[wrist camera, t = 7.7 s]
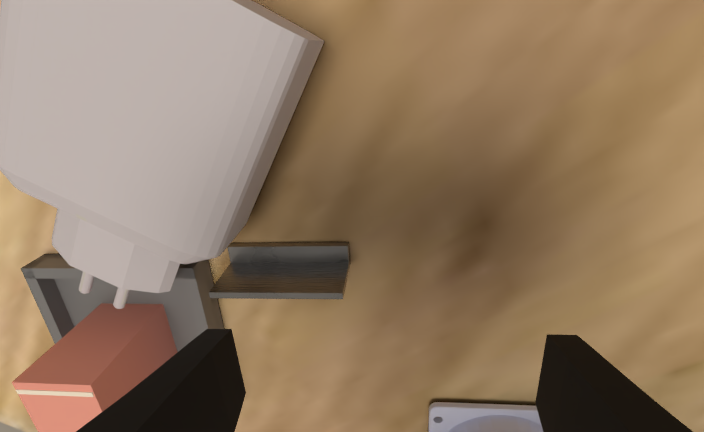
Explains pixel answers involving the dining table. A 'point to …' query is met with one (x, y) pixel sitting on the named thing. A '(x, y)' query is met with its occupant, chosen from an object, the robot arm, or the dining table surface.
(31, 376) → the salmon gift carton
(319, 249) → the bar
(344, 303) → the dining table surface
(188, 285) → the tray
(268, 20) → the charger
